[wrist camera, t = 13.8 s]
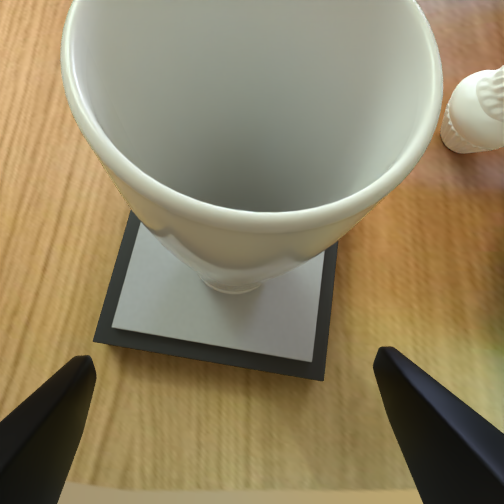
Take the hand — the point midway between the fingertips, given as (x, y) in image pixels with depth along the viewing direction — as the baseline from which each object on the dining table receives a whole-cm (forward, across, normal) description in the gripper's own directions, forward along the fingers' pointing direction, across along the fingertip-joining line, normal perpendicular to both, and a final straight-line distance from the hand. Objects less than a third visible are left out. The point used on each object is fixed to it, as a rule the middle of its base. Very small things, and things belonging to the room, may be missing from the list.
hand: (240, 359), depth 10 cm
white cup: (+10, 0, +2) cm, 11 cm away
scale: (+12, 0, +4) cm, 13 cm away
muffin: (+20, -19, -4) cm, 28 cm away
